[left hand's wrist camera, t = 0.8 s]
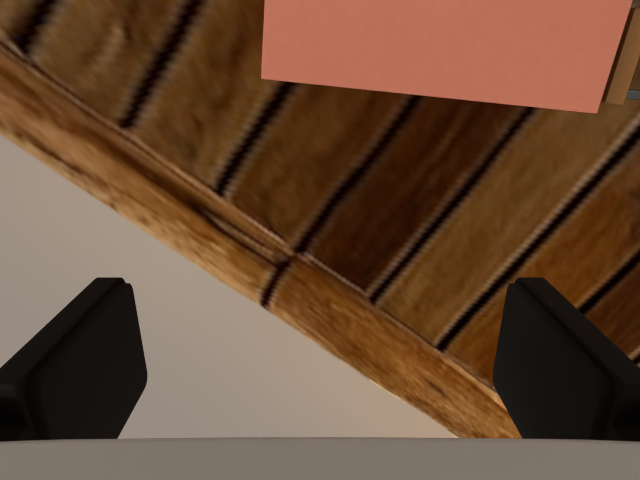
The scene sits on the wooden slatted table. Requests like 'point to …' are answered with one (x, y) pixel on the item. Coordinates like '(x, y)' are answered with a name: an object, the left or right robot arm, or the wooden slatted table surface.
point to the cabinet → (450, 48)
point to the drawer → (624, 63)
